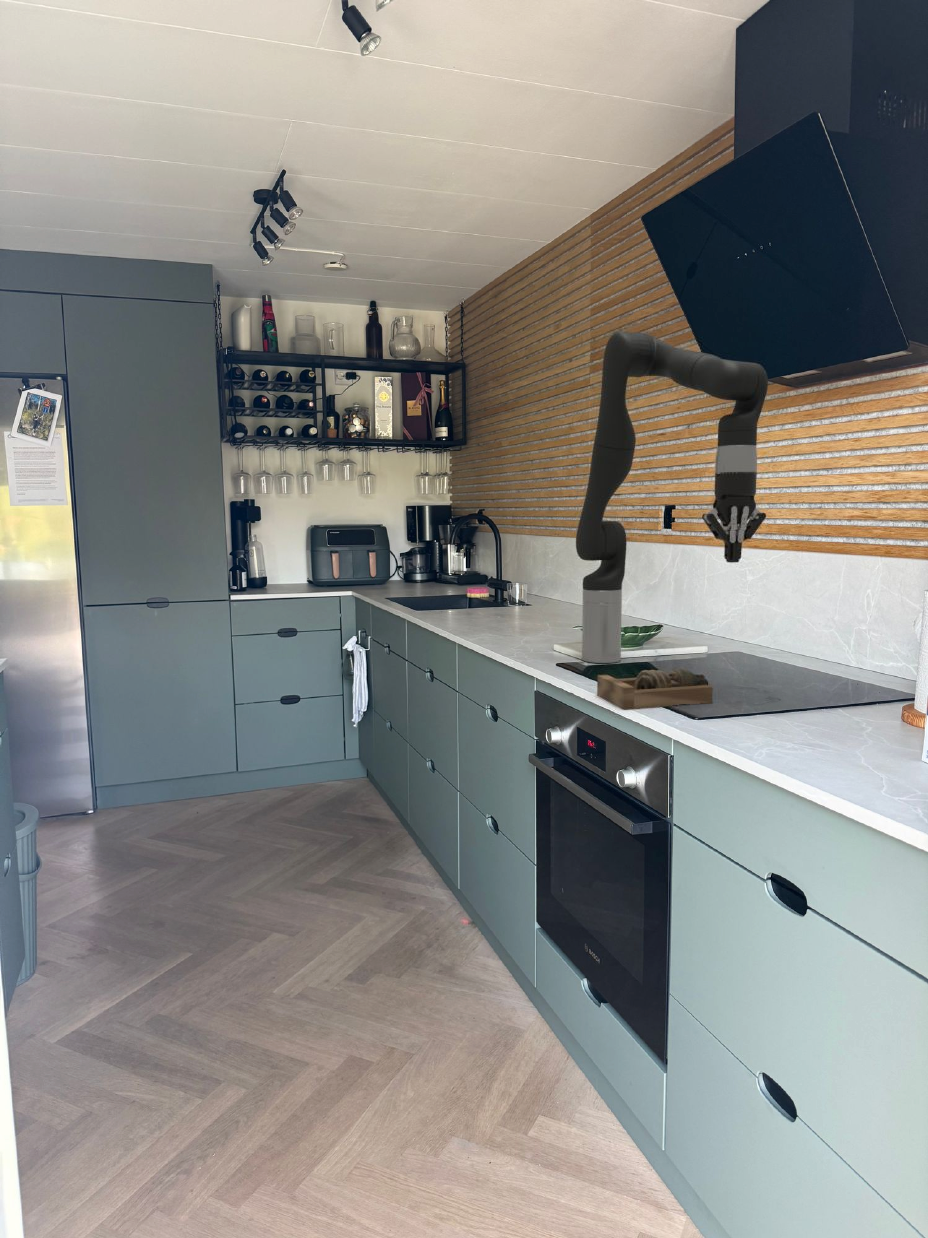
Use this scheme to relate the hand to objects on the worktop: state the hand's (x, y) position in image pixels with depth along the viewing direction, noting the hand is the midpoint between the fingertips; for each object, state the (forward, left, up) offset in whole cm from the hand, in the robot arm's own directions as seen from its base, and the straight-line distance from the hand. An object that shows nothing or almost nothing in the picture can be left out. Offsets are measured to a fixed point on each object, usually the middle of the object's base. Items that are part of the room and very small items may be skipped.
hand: (732, 562), depth 158 cm
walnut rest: (0, -15, -26) cm, 30 cm away
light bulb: (+1, -5, -23) cm, 23 cm away
